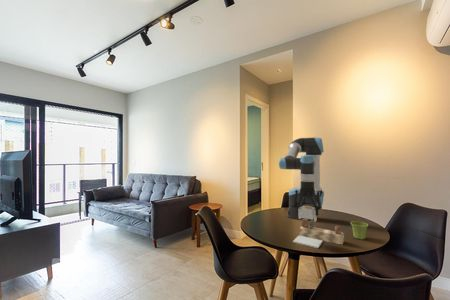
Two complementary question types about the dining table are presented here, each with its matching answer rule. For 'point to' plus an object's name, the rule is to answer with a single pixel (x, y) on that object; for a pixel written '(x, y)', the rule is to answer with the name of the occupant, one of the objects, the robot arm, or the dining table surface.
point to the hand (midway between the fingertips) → (307, 219)
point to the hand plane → (321, 233)
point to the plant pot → (359, 229)
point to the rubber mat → (308, 241)
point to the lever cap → (306, 212)
